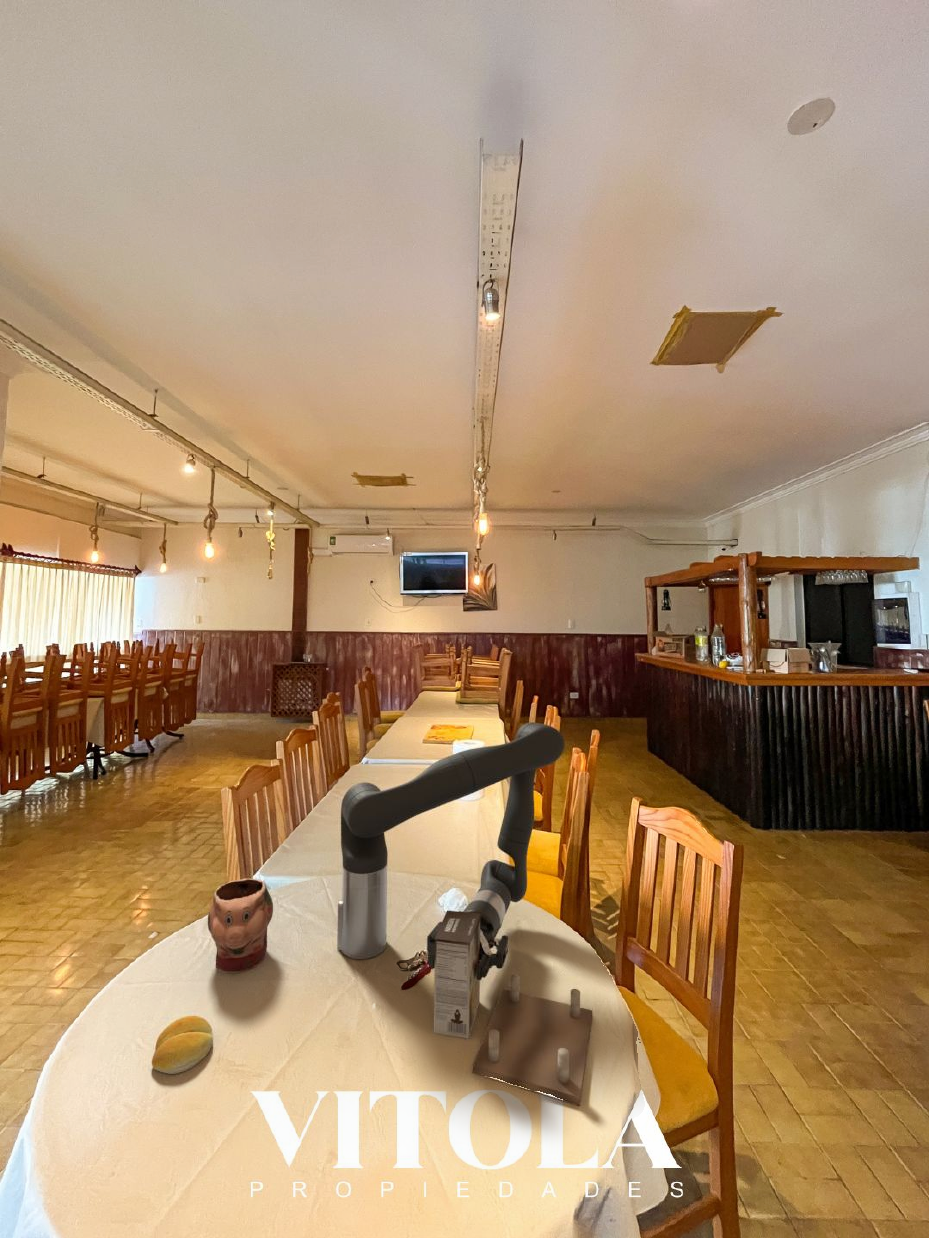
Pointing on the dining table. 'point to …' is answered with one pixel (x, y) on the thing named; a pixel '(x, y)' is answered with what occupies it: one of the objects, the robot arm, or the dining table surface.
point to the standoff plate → (537, 1043)
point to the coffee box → (456, 974)
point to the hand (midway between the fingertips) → (454, 968)
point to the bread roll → (182, 1045)
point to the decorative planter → (240, 924)
